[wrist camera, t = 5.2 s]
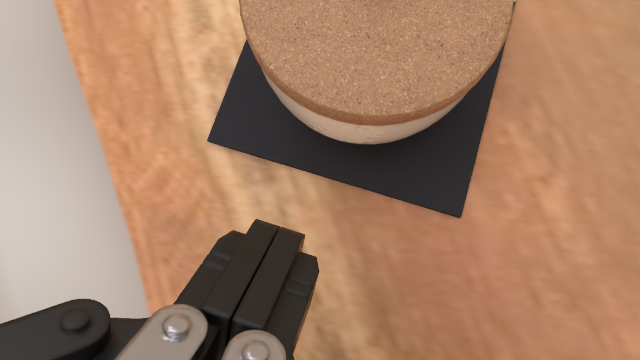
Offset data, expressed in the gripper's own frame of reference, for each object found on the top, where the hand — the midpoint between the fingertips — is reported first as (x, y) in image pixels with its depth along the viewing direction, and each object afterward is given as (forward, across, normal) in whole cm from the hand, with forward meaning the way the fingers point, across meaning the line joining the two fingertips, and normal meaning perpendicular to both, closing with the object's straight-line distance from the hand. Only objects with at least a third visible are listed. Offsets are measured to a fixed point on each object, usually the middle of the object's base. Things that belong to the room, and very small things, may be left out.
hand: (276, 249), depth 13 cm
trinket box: (+15, 0, 0) cm, 15 cm away
